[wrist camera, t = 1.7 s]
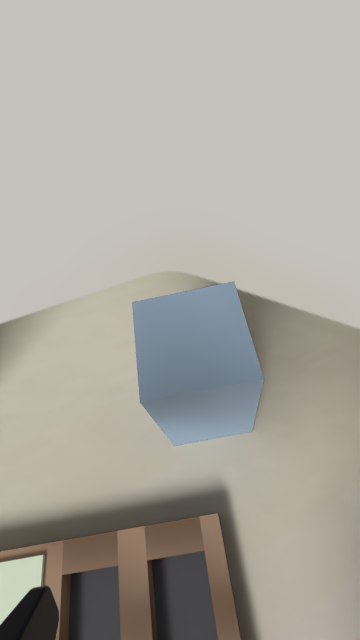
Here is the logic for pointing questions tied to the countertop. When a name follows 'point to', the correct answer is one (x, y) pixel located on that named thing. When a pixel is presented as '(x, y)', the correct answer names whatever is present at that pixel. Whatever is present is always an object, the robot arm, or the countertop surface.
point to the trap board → (131, 582)
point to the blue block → (197, 364)
